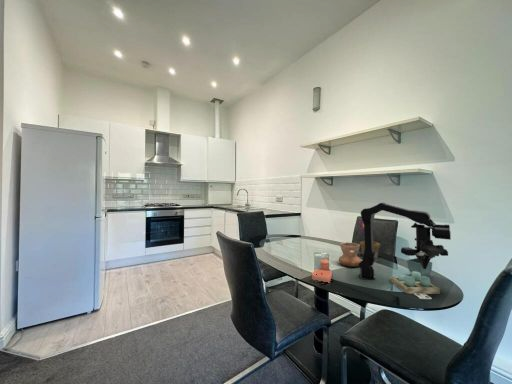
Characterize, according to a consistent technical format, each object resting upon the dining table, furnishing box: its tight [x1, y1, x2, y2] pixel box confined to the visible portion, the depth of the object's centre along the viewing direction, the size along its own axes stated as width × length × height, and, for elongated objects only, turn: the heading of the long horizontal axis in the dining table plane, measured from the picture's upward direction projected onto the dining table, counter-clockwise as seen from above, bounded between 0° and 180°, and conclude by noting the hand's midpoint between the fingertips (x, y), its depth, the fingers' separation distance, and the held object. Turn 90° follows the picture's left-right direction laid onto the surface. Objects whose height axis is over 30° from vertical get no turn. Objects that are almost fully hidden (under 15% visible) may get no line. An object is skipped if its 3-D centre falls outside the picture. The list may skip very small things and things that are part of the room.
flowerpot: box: [358, 220, 381, 258], centre depth 169 cm, size 14×14×30 cm
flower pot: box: [406, 257, 433, 277], centre depth 127 cm, size 9×9×9 cm
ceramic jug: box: [338, 241, 363, 268], centre depth 151 cm, size 18×14×14 cm
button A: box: [397, 274, 406, 281], centre depth 117 cm, size 4×4×4 cm
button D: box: [420, 276, 431, 287], centre depth 109 cm, size 4×4×4 cm
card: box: [413, 293, 433, 300], centre depth 103 cm, size 5×5×1 cm
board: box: [389, 276, 441, 295], centre depth 113 cm, size 15×15×2 cm
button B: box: [404, 275, 415, 287], centre depth 110 cm, size 4×4×4 cm
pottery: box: [311, 257, 333, 284], centre depth 130 cm, size 18×10×10 cm, turn 153°
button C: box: [410, 271, 421, 282], centre depth 116 cm, size 4×4×4 cm
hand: (424, 268), depth 109 cm, fingers closed
